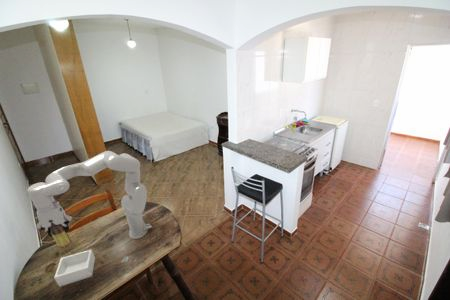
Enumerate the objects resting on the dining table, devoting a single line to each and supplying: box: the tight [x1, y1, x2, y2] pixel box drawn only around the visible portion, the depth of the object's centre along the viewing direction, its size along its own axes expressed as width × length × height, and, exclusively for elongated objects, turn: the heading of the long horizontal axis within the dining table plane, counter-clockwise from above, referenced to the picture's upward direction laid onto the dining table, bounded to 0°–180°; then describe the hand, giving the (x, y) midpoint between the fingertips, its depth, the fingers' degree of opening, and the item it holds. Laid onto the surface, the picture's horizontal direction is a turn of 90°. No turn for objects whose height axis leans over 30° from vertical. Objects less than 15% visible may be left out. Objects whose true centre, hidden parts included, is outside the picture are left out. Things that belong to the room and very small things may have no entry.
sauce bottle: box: [49, 220, 73, 249], centre depth 113 cm, size 7×6×20 cm
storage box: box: [53, 249, 96, 288], centre depth 126 cm, size 16×13×8 cm
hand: (59, 232), depth 114 cm, fingers closed on sauce bottle, 6 cm apart
